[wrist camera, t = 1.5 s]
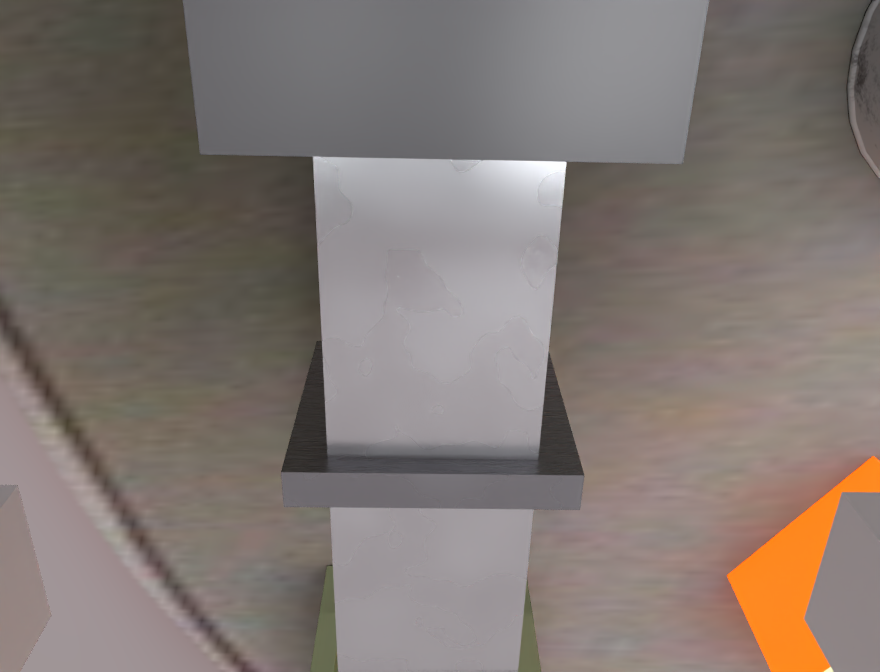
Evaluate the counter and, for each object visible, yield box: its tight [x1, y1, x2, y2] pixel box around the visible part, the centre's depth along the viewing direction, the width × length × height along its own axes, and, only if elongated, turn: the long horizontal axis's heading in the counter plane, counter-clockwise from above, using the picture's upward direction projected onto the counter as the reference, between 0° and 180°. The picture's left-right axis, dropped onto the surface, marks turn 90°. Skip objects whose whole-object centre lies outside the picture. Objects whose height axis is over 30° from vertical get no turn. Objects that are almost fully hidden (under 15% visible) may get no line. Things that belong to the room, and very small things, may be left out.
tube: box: [281, 157, 584, 672], centre depth 19 cm, size 25×7×7 cm, turn 179°
